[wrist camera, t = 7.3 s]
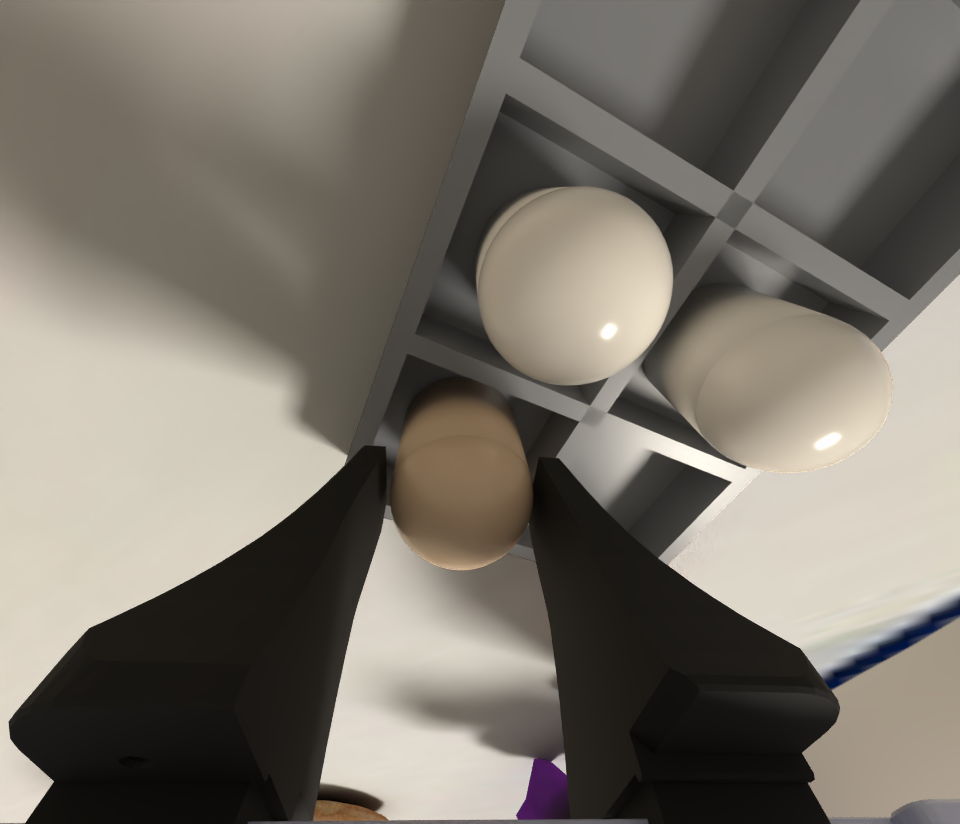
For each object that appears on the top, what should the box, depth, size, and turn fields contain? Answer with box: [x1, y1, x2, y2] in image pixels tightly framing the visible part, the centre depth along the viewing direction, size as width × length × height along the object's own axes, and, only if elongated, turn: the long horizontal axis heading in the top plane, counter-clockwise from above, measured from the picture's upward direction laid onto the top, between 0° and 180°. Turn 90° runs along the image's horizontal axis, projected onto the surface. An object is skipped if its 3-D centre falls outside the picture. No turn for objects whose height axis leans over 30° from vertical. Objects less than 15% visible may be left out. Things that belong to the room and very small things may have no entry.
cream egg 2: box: [643, 283, 893, 473], centre depth 10 cm, size 4×4×6 cm
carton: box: [344, 0, 960, 565], centre depth 11 cm, size 13×19×2 cm
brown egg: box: [390, 378, 533, 570], centre depth 12 cm, size 4×4×6 cm
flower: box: [516, 759, 570, 820], centre depth 23 cm, size 15×15×14 cm
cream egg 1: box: [475, 186, 673, 385], centre depth 9 cm, size 4×4×6 cm
